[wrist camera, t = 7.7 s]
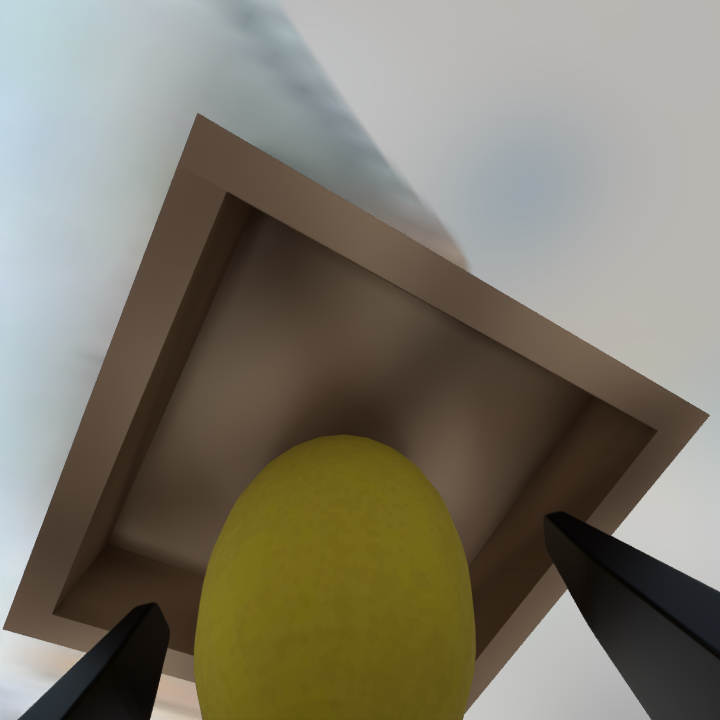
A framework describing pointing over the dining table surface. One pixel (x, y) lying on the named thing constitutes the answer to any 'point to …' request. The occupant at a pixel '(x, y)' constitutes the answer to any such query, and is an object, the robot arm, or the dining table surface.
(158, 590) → the tray
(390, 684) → the lemon
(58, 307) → the dining table surface
